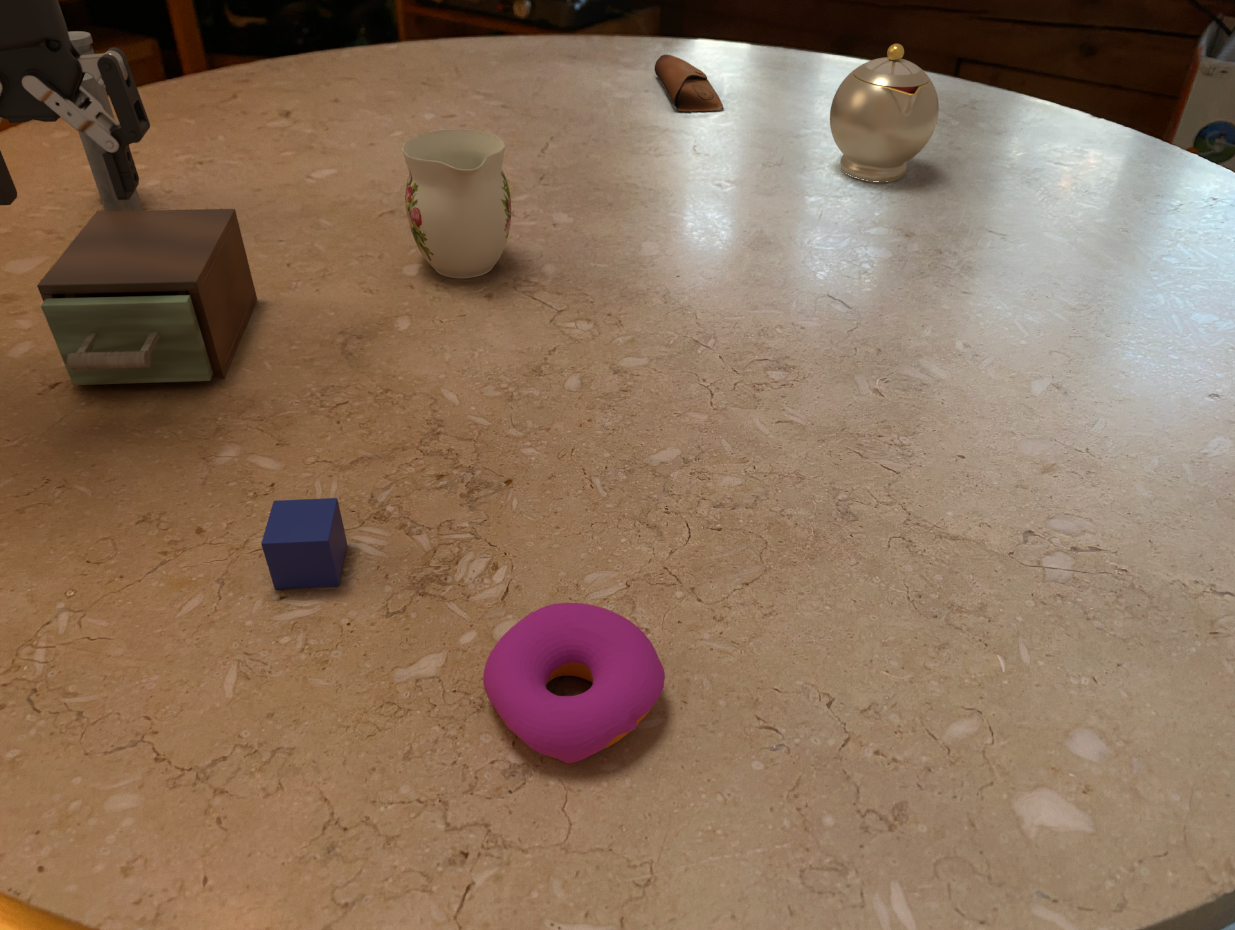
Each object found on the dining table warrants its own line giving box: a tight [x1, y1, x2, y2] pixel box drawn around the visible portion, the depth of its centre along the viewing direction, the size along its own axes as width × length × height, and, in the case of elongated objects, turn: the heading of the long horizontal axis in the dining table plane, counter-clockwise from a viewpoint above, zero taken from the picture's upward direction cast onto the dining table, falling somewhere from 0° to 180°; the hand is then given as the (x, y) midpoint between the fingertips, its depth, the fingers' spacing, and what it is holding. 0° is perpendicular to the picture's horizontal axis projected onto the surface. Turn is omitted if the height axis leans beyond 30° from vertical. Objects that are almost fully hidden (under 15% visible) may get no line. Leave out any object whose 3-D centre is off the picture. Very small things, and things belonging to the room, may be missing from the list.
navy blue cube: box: [260, 497, 348, 590], centre depth 66 cm, size 4×4×4 cm
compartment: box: [40, 291, 213, 386], centre depth 83 cm, size 18×12×8 cm, turn 5°
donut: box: [482, 602, 666, 764], centre depth 57 cm, size 10×10×5 cm
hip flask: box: [68, 30, 144, 211], centre depth 105 cm, size 16×4×20 cm, turn 28°
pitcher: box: [401, 128, 512, 279], centre depth 100 cm, size 11×18×14 cm, turn 19°
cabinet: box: [36, 208, 258, 380], centre depth 87 cm, size 15×13×10 cm
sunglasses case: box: [654, 54, 724, 113], centre depth 150 cm, size 18×7×7 cm, turn 8°
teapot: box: [829, 43, 940, 184], centre depth 123 cm, size 18×14×16 cm
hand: (67, 198), depth 71 cm, fingers open, 8 cm apart
